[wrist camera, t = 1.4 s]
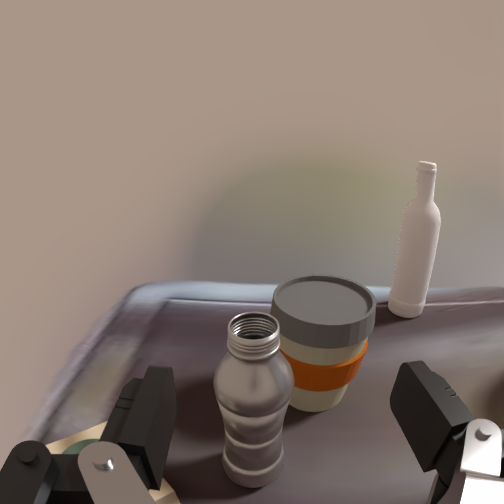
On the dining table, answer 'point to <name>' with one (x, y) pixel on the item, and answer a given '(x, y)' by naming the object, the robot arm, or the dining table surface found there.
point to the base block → (77, 442)
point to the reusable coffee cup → (322, 335)
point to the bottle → (416, 247)
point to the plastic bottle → (253, 399)
